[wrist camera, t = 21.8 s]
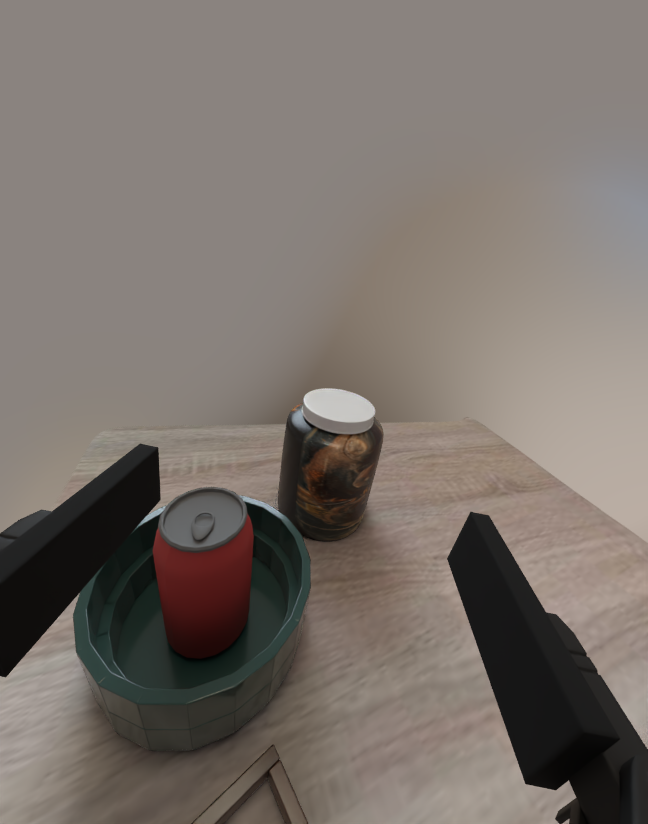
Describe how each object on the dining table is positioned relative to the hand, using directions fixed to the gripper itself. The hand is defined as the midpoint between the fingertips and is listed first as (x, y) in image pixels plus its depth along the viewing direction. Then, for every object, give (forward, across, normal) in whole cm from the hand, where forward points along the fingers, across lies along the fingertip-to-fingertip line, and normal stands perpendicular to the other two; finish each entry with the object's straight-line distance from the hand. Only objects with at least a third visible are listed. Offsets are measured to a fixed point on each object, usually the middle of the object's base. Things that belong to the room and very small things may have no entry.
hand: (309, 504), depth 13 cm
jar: (+22, +2, -19) cm, 29 cm away
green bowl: (+6, -6, -20) cm, 21 cm away
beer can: (+6, -6, -19) cm, 21 cm away
